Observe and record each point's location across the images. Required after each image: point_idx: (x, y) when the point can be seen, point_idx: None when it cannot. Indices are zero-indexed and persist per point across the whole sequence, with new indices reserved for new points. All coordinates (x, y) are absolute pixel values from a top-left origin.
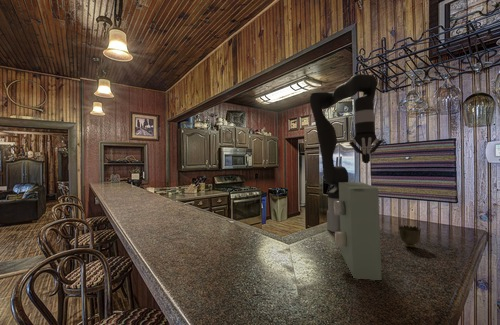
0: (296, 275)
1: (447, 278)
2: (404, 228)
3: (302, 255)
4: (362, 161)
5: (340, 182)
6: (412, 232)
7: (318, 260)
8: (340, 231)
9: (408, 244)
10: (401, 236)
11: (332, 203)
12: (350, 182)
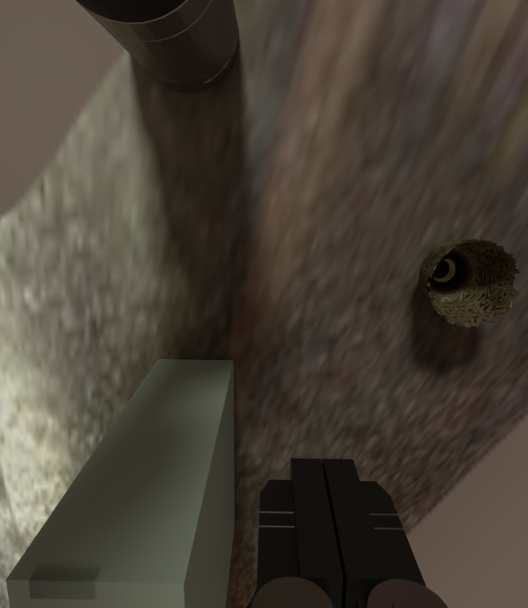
0: (17, 517)
1: (407, 496)
2: (466, 242)
3: (20, 386)
4: (267, 488)
5: (20, 588)
6: (459, 324)
7: (76, 421)
8: (133, 396)
9: (432, 283)
10: (420, 281)
11: (95, 19)
12: (99, 603)
